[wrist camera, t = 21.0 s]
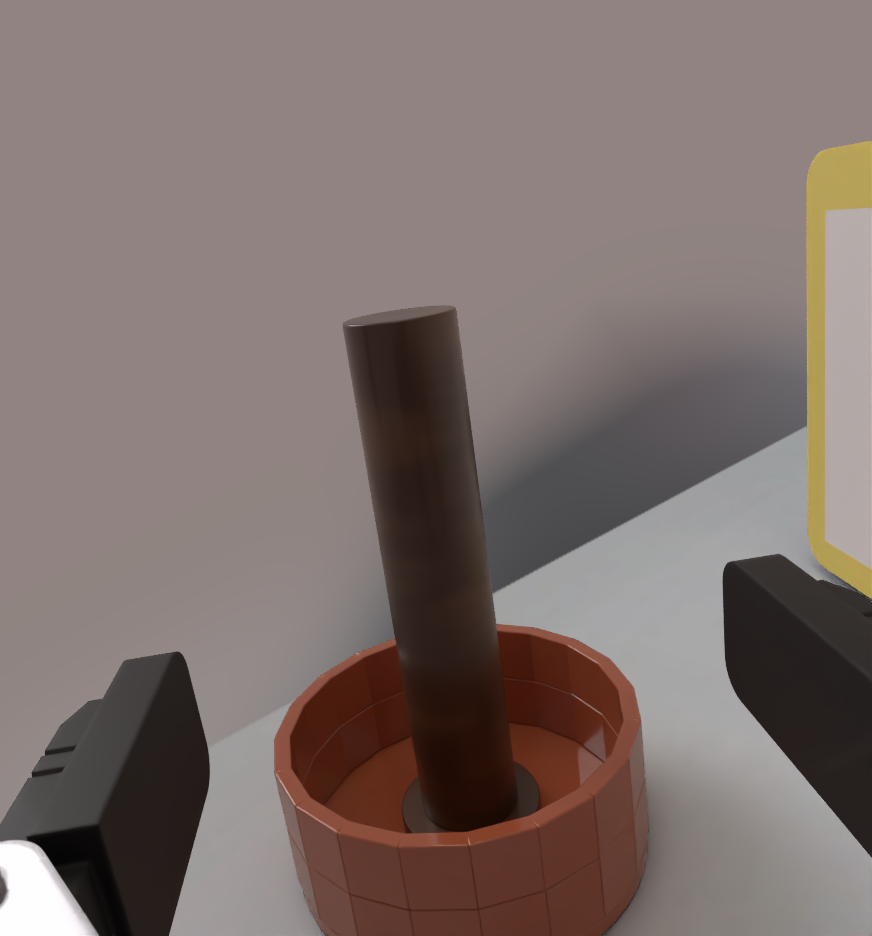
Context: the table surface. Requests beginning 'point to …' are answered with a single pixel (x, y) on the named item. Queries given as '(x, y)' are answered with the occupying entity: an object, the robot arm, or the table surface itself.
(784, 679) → the robot arm
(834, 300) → the tablet
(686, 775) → the table surface
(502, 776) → the brown tall cylinder
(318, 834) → the bowl
